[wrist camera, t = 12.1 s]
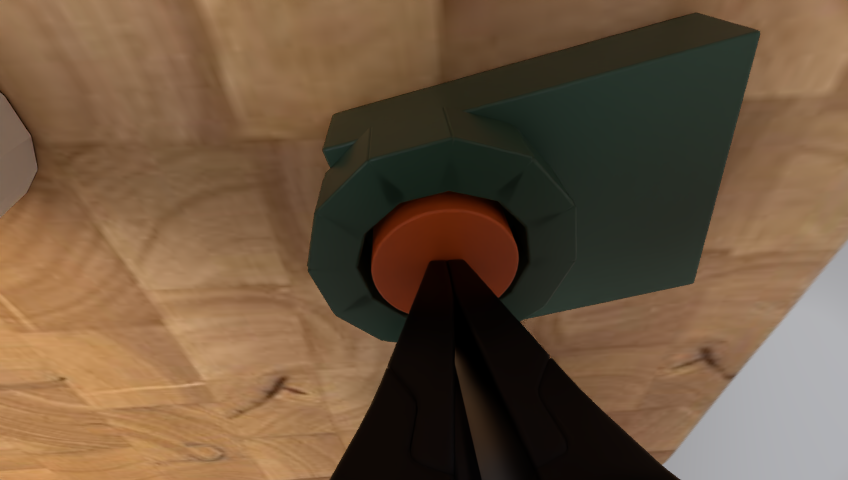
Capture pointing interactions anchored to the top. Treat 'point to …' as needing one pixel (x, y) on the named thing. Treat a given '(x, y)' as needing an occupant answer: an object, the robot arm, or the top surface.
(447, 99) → the button base
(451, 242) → the button
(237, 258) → the top surface
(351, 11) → the top surface
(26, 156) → the white cup
